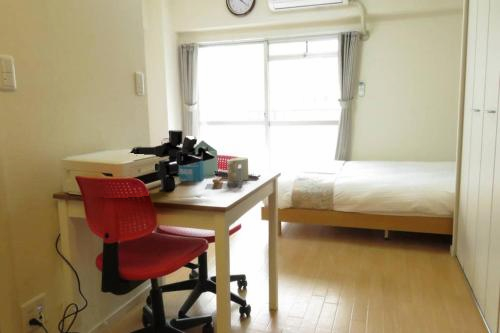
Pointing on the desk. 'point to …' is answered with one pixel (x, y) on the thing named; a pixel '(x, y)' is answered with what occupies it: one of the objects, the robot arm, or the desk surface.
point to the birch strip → (231, 171)
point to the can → (244, 167)
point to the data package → (191, 172)
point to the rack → (230, 185)
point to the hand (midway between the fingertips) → (207, 158)
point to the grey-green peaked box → (211, 164)
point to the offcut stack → (217, 182)
